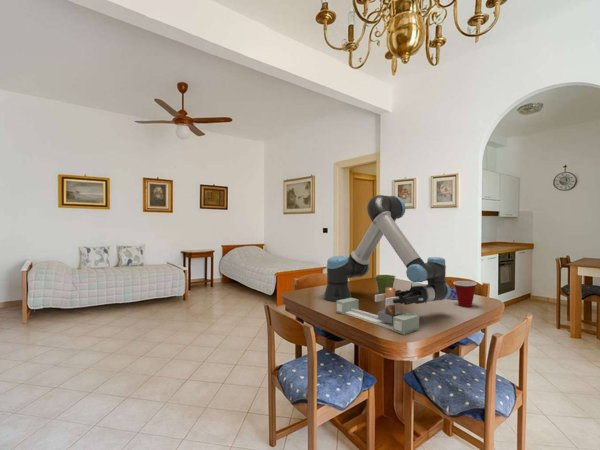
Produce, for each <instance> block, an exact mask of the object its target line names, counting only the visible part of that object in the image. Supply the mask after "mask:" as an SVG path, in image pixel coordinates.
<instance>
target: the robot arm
mask: <svg viewBox="0 0 600 450" xmlns="http://www.w3.org/2000/svg"><path fill="white" fill-rule="evenodd" d="M405 204H406V203H405V201H404V200H403V199H402V198H401V197H399V196H395V195H383V194H377V195H374V196H373V197H371V198H370V199H369V201H368V202H367V206H366V210H367V214H368V218H369V219H370V220H371V223H370V225H369V226H368V228H367V230H366V232H365V234H364V235H363V237H362V239H360V241H359V244H358V246H356V247H357V248H356V249H355V250H353V251H351V253H350V254H349V256H347V255H335V256H331V257H329V258H328V259H327V263H326V288H325V291H324V294H323V299H324V300H326V301H330V302H336V301H337V300H342V299H347V298H352V293H351V291H350V287H349V279H353V278H361V277H363V276H366V275H367V274H368V272H369V270H370V257H371V256H372V254H373V252H374V250H375V249H376V247H377V246H378V244H379V242H380V240H381V239H382V237H383V236H384V237H385V239H386V240H387V241H388V243H389V245H391V247H392V249H393V250H394V252H395V253H396V255H397V256H398V258H399V259H400V260H401V262H402V263H403V265H404V266H405V268H406V271H405V272H406V277H407V279H408V280H409V281H411V283H422V282H426V281H427V284H424V285H420V286H413V287H411V286H410V288H409V290H408V289H407V290H402V289H397V290H395V297H391V298H385V292H384V294H379V293H378V294H374V302H375V303H378V302H384V301H385V303H384V306H385V305H394V304H395V305H398V304H400V305H406V306H408V305H412V304H416V305H417V304H418V305H419V304H423V303H424V304H427V303H431V302H435V301H436V302H437V301H438V302H439V301H443V300H447V298H448V297H449V296H450V294H451V289H450V288H451V287H450V285H449V284H448V283H447V282H446V271H447V270H446V269H447V265H446V259H445V258H444V257H437V256H433V257H432V256H431V257H428V258H427V262H424V260H423V259H422V257H421V256H420V255H419V253H418V252H417V251H416V249H415V248H414V247H413V245H412V243H411V242H410V241H409V240H408V239H407V237H406V235H405V234H404V233H403V232H402V229H400V227H399V226H398V225H397V223H396V220H397V219H398V220H399V219H401V218H402V217H403V216H404V215H405V213H406V205H405Z"/></svg>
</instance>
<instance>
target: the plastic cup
mask: <svg viewBox="0 0 600 450" xmlns="http://www.w3.org/2000/svg"><path fill="white" fill-rule="evenodd" d="M452 284H453V285H454V287H455V289H456V293H457V298H458V299H457V302H458V305H459V306H460V307H463V308H464V307H465V308H471V307H472V305H473V302H474V296H475V291H476V286H477V284H478V283H477V282H476V281H471V280H458V281H457V280H456V281H453V283H452Z"/></svg>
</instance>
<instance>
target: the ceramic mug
mask: <svg viewBox="0 0 600 450" xmlns="http://www.w3.org/2000/svg"><path fill="white" fill-rule="evenodd" d="M420 285H425V284H424V283H420V282H411V284H410V288H411V287H413V286H420Z"/></svg>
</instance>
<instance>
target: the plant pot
mask: <svg viewBox="0 0 600 450" xmlns="http://www.w3.org/2000/svg"><path fill="white" fill-rule="evenodd" d="M374 277H375V280H376V284H377V290H378V295H379V294H384V292H385V288H387V287H391V288H394V282H395V279H396V276H395V275H391V274H376V275H374Z"/></svg>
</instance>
